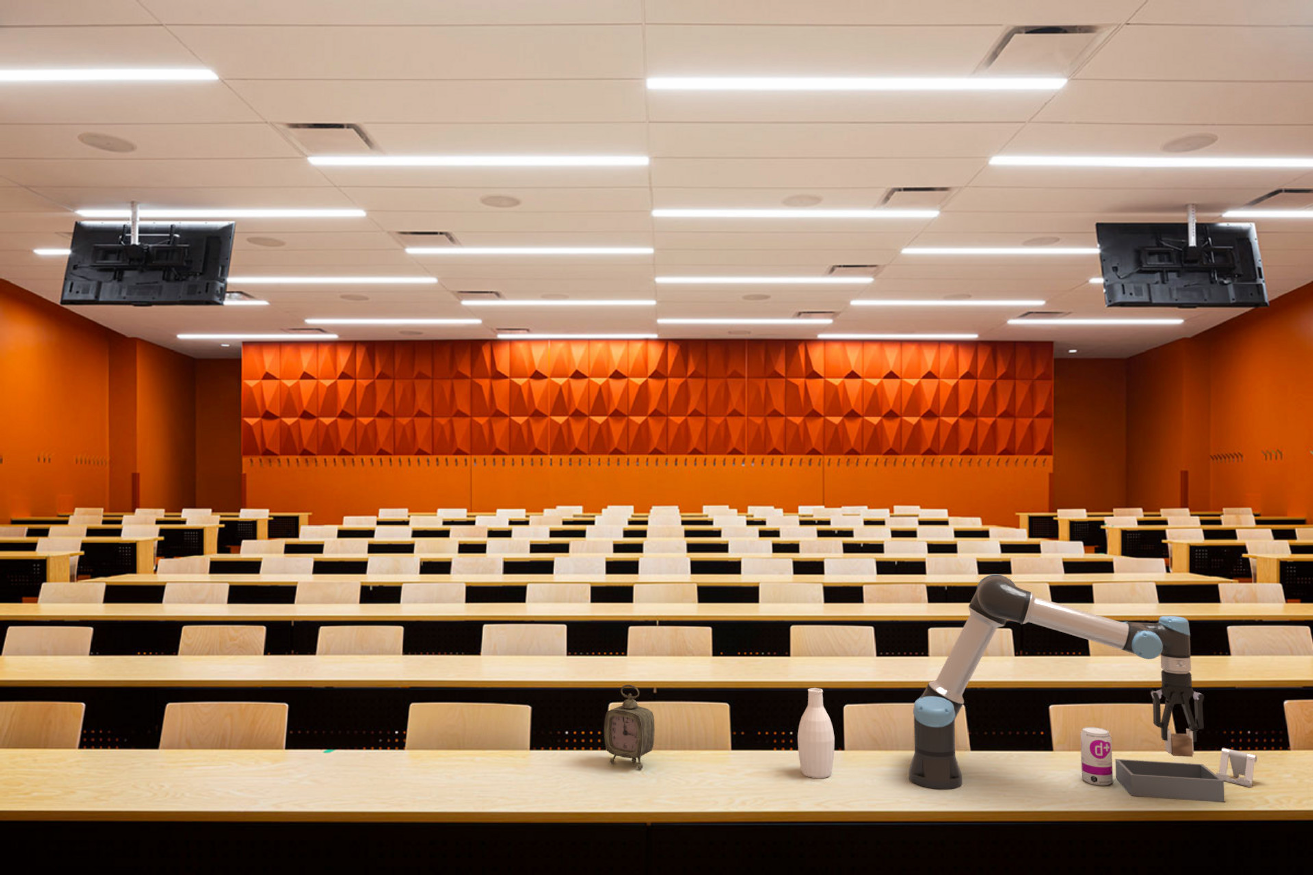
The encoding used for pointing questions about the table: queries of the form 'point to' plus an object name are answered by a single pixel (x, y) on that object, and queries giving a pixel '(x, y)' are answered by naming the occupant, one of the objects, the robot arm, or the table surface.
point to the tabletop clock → (629, 730)
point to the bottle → (816, 738)
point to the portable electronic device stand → (1237, 766)
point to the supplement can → (1096, 756)
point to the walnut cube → (1181, 745)
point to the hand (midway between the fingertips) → (1179, 752)
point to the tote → (1169, 780)
